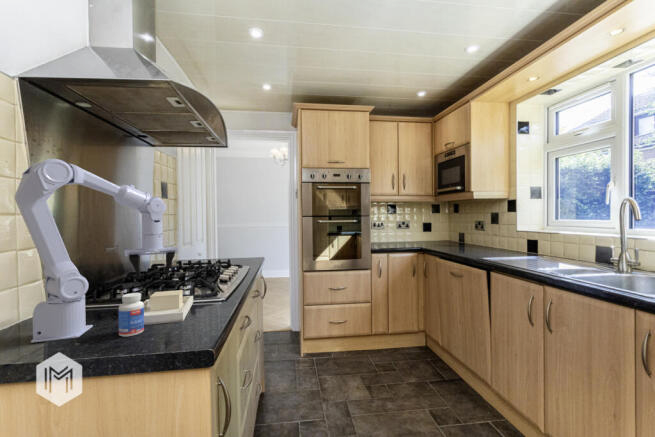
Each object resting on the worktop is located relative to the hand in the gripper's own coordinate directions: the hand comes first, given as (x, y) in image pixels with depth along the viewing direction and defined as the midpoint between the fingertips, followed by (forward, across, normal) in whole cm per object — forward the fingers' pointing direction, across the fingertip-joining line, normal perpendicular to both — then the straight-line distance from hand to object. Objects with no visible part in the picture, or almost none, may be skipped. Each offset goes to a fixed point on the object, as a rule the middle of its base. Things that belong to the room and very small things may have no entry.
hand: (153, 277), depth 92 cm
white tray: (+10, +3, -6) cm, 12 cm away
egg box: (+10, +4, -1) cm, 11 cm away
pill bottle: (+11, -4, -19) cm, 22 cm away
